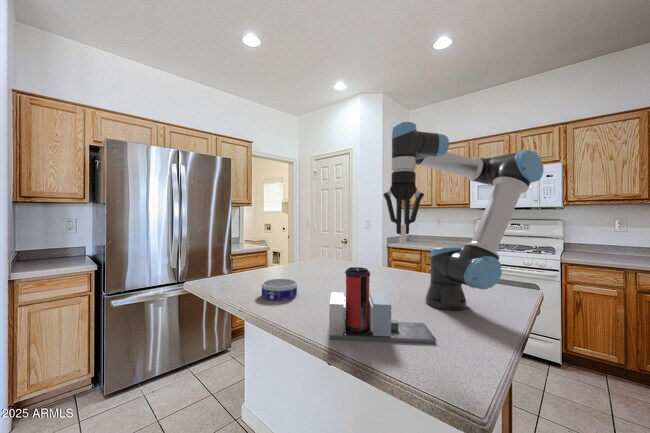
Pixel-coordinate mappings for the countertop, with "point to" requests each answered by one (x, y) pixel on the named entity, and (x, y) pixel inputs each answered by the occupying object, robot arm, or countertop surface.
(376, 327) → the slide jaw
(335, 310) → the fixed jaw
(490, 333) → the countertop surface
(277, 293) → the dog bowl
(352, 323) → the speaker
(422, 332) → the vise bed
